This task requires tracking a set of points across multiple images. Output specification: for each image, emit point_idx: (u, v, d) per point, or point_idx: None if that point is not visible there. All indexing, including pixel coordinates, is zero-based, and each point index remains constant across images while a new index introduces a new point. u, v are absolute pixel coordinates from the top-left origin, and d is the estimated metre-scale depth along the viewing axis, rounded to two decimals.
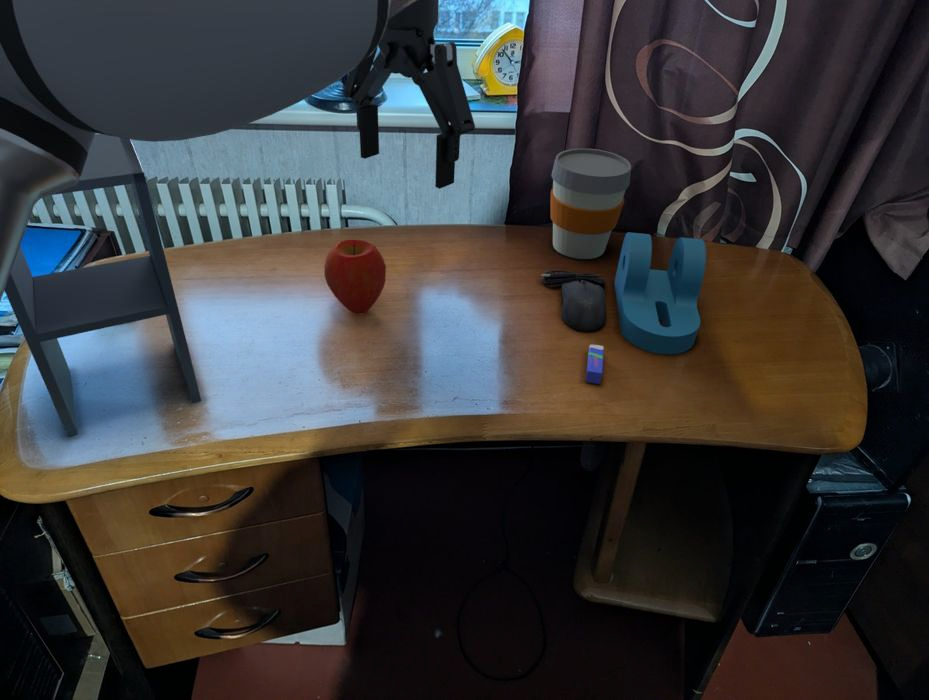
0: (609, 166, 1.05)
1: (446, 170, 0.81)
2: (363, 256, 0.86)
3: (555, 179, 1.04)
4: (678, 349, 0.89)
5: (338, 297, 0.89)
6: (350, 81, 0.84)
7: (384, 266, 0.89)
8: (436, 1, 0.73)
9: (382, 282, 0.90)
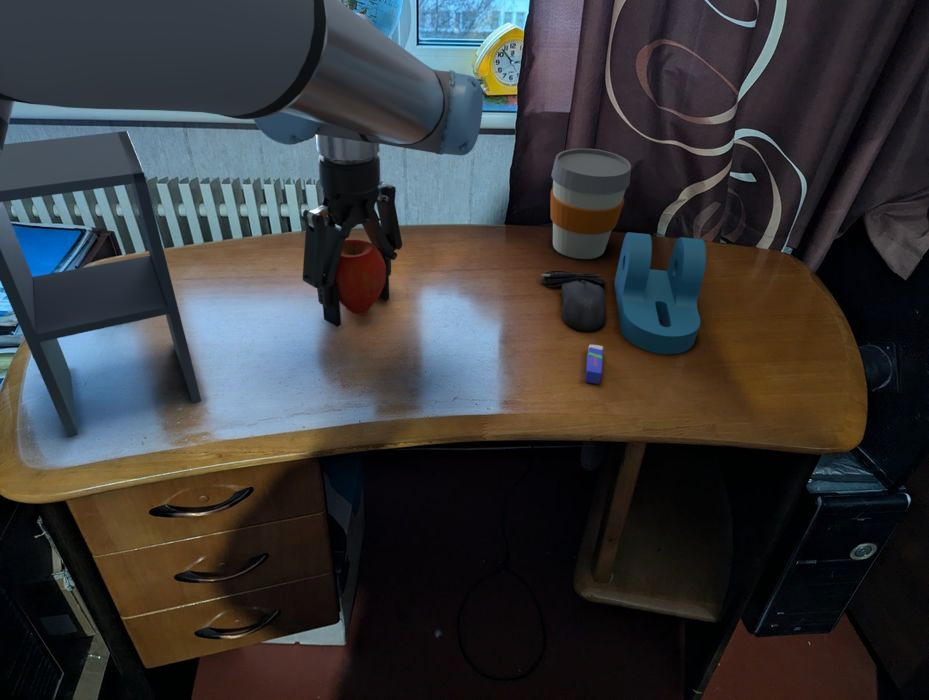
0: (609, 166, 1.05)
1: None
2: (363, 256, 0.86)
3: (555, 179, 1.04)
4: (678, 349, 0.89)
5: None
6: (319, 270, 0.83)
7: (384, 266, 0.89)
8: None
9: (382, 282, 0.90)
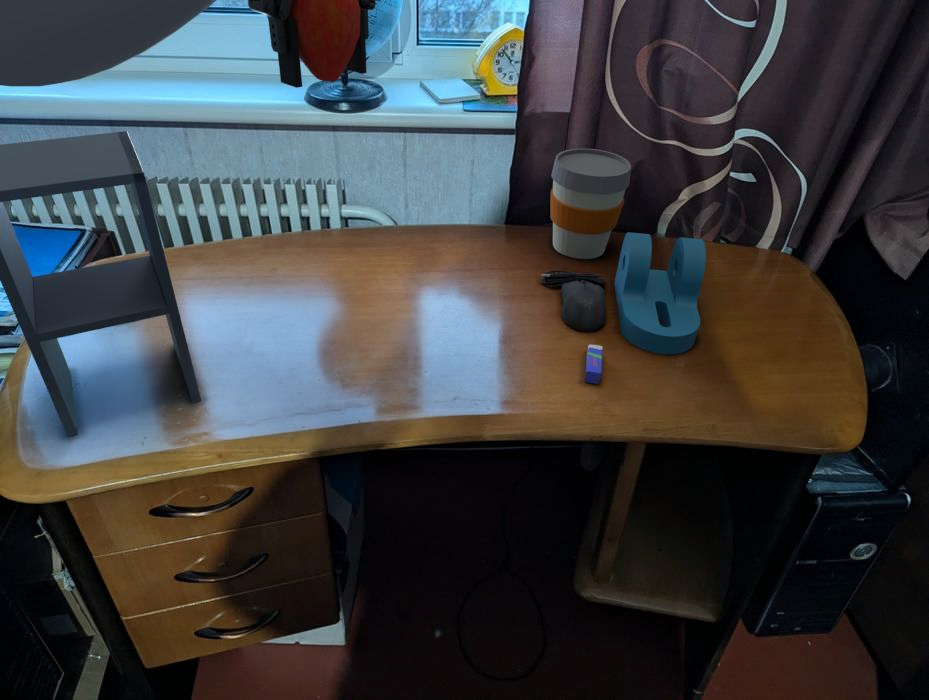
0: (609, 166, 1.05)
1: None
2: None
3: (555, 179, 1.04)
4: (678, 349, 0.89)
5: None
6: None
7: (358, 6, 0.69)
8: None
9: (355, 28, 0.69)
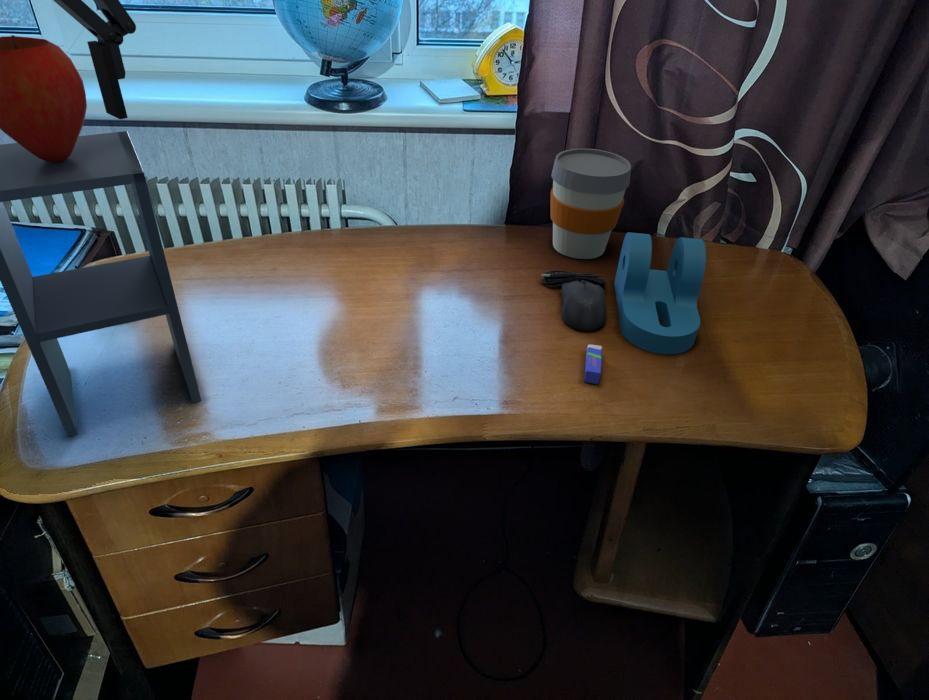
0: (609, 166, 1.05)
1: None
2: (20, 50, 0.54)
3: (555, 179, 1.04)
4: (678, 349, 0.89)
5: None
6: None
7: (70, 76, 0.57)
8: None
9: (68, 102, 0.57)
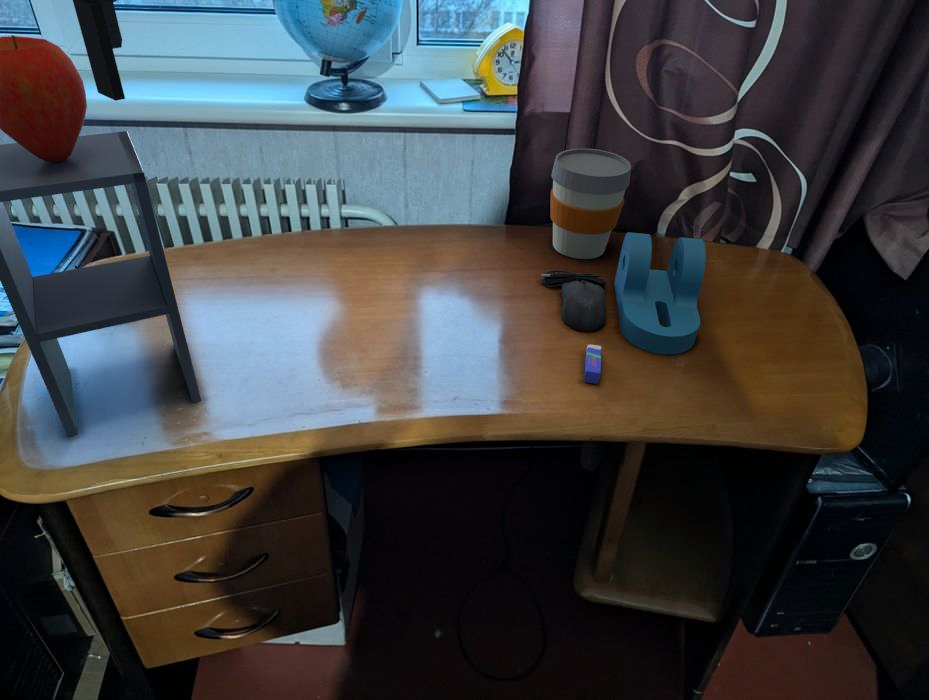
0: (609, 166, 1.05)
1: None
2: (20, 50, 0.54)
3: (555, 179, 1.04)
4: (678, 349, 0.89)
5: None
6: None
7: (70, 76, 0.57)
8: None
9: (68, 102, 0.57)
